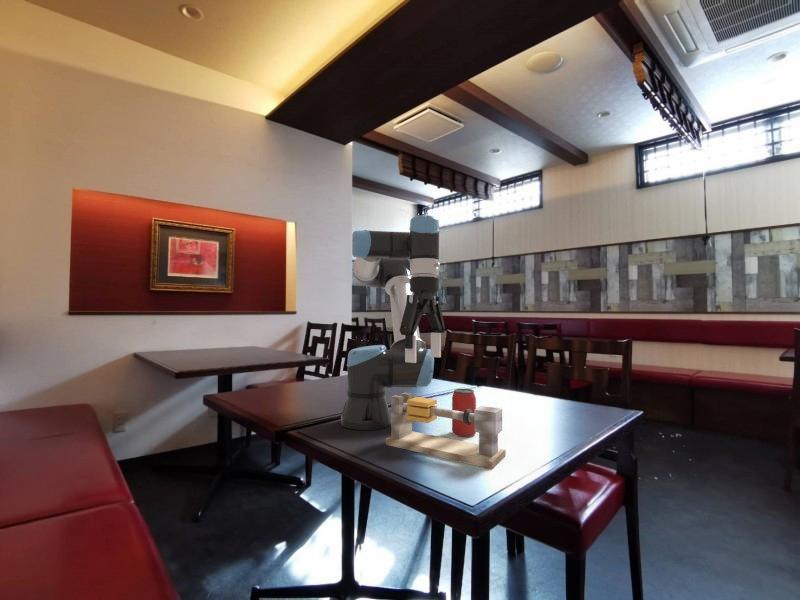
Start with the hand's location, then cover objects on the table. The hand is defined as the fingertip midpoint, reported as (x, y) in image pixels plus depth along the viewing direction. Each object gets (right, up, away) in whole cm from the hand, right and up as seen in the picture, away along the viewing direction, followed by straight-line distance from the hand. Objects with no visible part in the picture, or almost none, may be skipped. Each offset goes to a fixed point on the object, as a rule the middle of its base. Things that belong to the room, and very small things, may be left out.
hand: (423, 359), depth 98 cm
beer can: (+12, -22, +9) cm, 27 cm away
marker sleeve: (-1, -15, -1) cm, 15 cm away
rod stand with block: (+4, -21, -4) cm, 22 cm away
